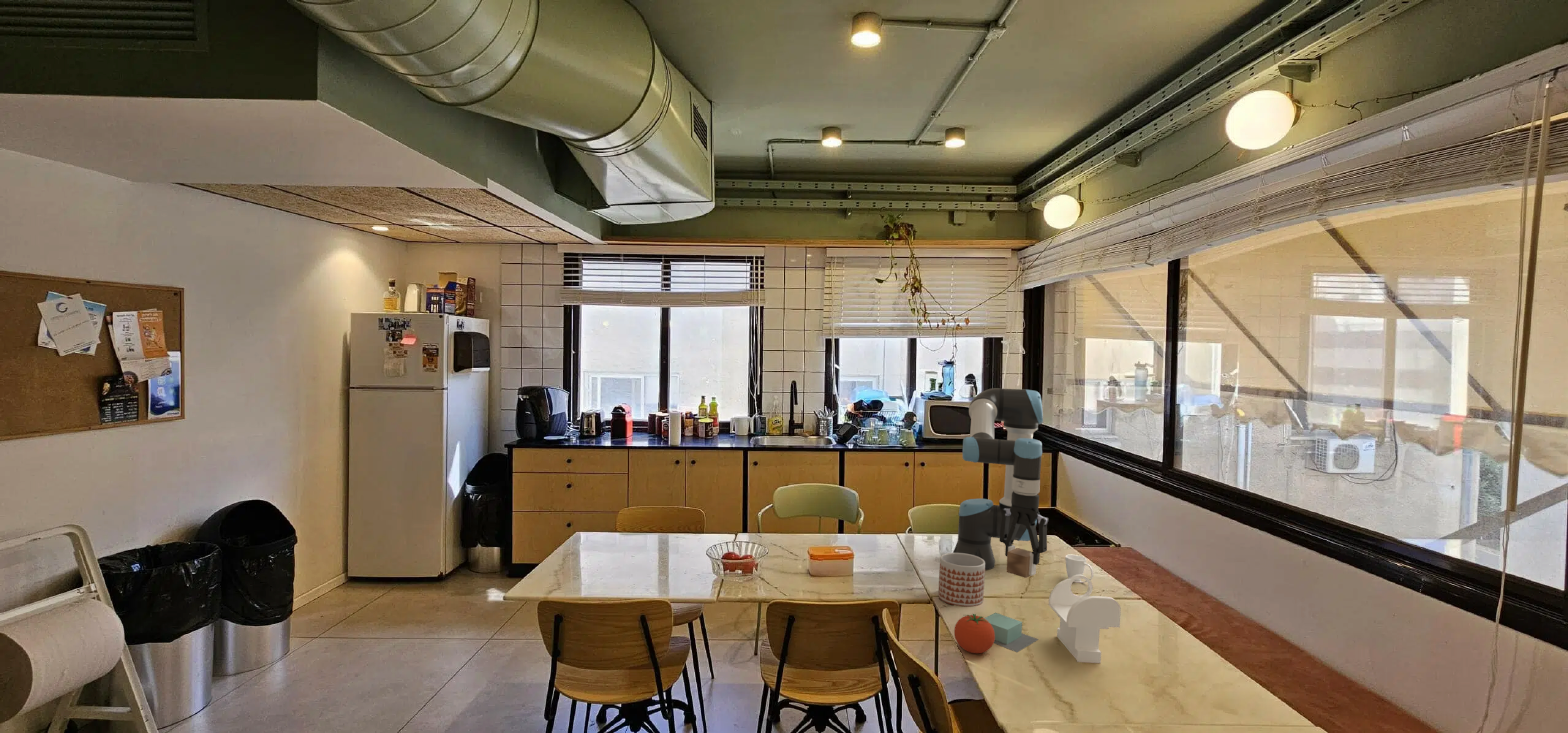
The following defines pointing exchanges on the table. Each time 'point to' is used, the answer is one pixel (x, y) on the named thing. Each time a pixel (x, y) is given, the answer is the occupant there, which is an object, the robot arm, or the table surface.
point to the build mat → (1018, 643)
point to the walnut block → (1018, 562)
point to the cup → (1076, 566)
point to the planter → (961, 579)
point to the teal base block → (1005, 628)
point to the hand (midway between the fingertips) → (1021, 571)
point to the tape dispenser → (1083, 618)
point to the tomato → (974, 634)
